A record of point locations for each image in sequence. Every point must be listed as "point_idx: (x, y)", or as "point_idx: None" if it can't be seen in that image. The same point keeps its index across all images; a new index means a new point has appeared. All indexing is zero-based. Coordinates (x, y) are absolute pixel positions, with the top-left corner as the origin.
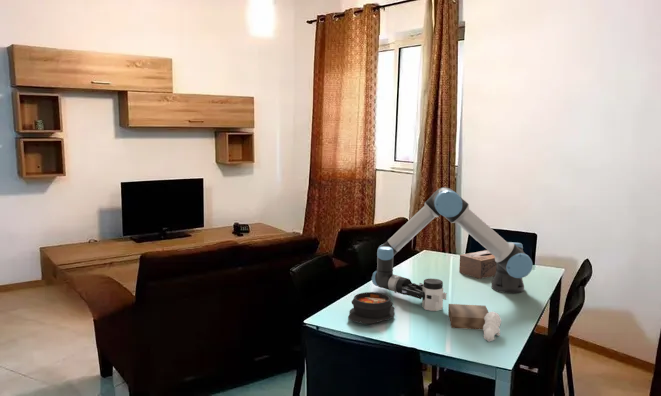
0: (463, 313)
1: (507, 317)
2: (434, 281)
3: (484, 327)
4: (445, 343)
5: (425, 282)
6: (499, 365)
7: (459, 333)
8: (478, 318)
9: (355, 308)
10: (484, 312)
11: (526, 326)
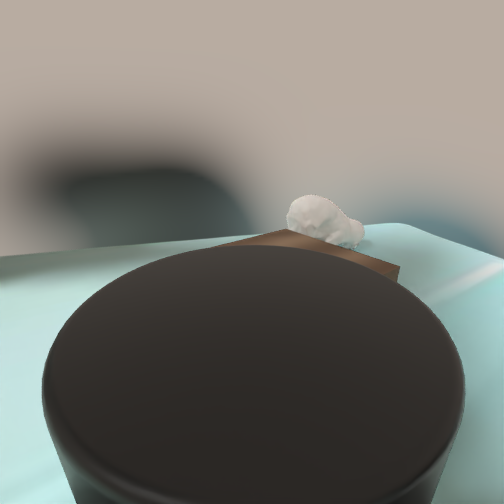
0: None
1: None
2: (254, 287)
3: (348, 228)
4: (486, 278)
5: (454, 347)
6: (409, 226)
7: None
8: (315, 239)
9: None
10: (254, 242)
11: (195, 241)
